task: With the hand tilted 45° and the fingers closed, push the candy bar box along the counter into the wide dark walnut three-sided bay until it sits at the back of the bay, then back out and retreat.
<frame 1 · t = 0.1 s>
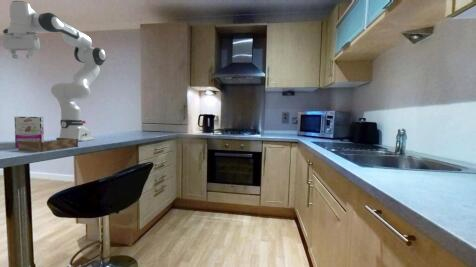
hand: (22, 58, 129), 48 cm above the countertop, tool pointing down, fingers open, 8 cm apart
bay: (49, 148, 127), on the countertop
candy bar box: (30, 147, 129), on the countertop
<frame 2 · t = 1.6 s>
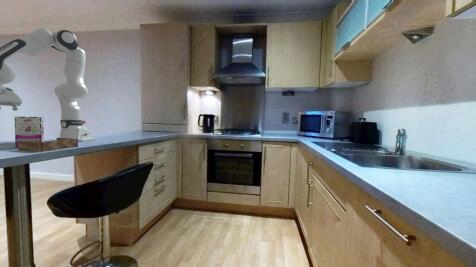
hand: (7, 109, 130), 20 cm above the countertop, tool tilted 45°, fingers open, 7 cm apart
nothing on the countertop moved.
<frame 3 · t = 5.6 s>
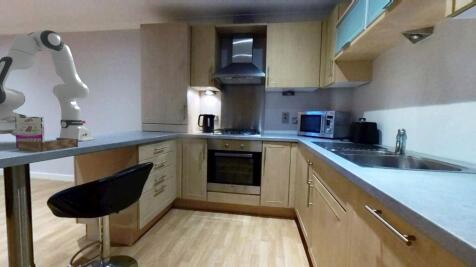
hand: (21, 137, 129), 5 cm above the countertop, tool tilted 45°, fingers closed
candy bar box: (30, 147, 128), on the countertop, touching gripper
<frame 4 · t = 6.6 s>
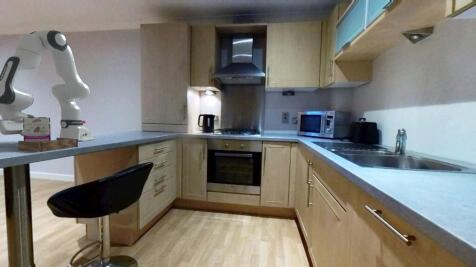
hand: (30, 138, 128), 5 cm above the countertop, tool tilted 45°, fingers closed
candy bar box: (37, 147, 127), on the countertop, touching gripper
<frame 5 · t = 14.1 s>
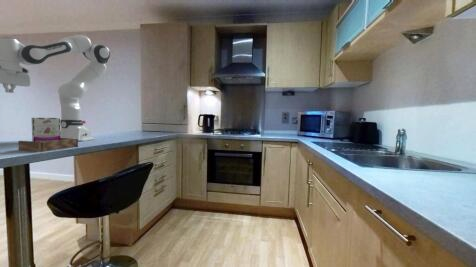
hand: (9, 92, 133), 29 cm above the countertop, tool pointing down, fingers closed
candy bar box: (46, 149, 124), on the countertop
at the end: candy bar box inside the target area on the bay (3.0 cm from its centre), point 0.0 cm above the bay's base; candy bar box tilted 0°; candy bar box moved 13.9 cm from its start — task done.
